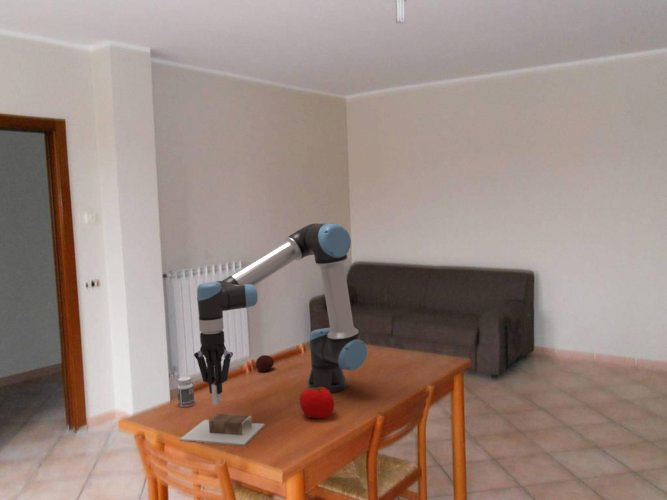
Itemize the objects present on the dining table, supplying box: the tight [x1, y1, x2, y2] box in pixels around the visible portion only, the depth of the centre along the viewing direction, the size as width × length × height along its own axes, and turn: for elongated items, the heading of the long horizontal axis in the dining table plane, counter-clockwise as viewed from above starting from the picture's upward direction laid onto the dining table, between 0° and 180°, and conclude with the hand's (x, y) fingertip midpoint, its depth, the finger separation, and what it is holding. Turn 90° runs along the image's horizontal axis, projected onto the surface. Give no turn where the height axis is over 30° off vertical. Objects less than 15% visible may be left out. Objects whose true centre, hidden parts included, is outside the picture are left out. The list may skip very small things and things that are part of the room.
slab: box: [208, 413, 253, 435], centre depth 188 cm, size 4×6×12 cm
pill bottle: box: [176, 376, 195, 408], centre depth 216 cm, size 6×6×10 cm
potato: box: [255, 354, 275, 373], centre depth 256 cm, size 7×8×7 cm
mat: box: [179, 419, 266, 447], centre depth 188 cm, size 22×16×1 cm
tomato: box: [299, 387, 335, 419], centre depth 199 cm, size 11×13×10 cm
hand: (216, 403), depth 189 cm, fingers closed
